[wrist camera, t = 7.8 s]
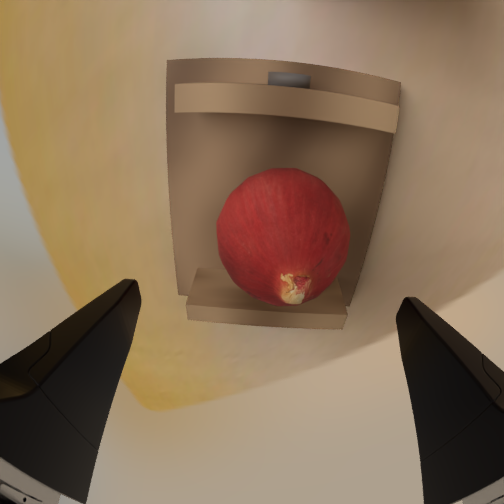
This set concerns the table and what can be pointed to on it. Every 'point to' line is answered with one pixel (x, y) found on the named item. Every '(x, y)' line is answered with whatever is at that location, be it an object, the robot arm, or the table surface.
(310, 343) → the table surface
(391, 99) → the cup
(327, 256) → the onion
